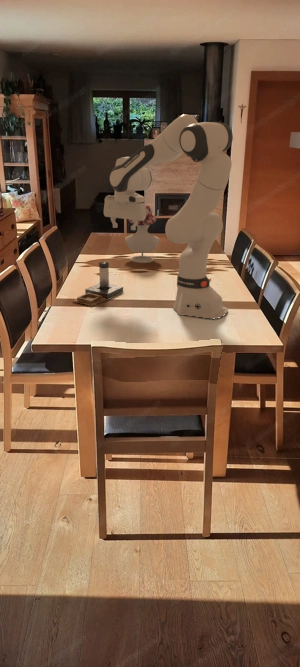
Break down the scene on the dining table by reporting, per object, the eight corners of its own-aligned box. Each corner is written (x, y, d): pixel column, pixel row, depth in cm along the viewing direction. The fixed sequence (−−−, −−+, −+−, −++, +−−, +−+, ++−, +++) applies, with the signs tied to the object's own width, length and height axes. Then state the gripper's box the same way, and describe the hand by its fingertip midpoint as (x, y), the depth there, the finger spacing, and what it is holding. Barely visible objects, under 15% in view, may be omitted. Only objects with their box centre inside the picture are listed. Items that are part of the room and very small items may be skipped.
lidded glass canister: (111, 292, 225) (110, 262, 220) (105, 295, 222) (104, 264, 216) (103, 291, 227) (102, 261, 222) (97, 293, 224) (96, 263, 218)
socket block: (123, 292, 226) (123, 286, 225) (107, 299, 217) (107, 294, 216) (101, 287, 232) (101, 282, 231) (85, 294, 223) (85, 289, 222)
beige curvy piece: (160, 255, 289) (162, 201, 277) (158, 263, 272) (159, 207, 260) (128, 254, 290) (128, 200, 278) (123, 262, 274) (123, 206, 262)
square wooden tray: (106, 300, 216) (106, 295, 215) (92, 306, 208) (91, 302, 208) (87, 295, 221) (87, 291, 220) (73, 302, 213) (72, 297, 212)
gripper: (100, 195, 219) (100, 227, 224) (140, 199, 210) (139, 232, 215) (108, 194, 224) (108, 225, 229) (148, 198, 215) (147, 230, 220)
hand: (124, 228), depth 222 cm, fingers open, 8 cm apart
